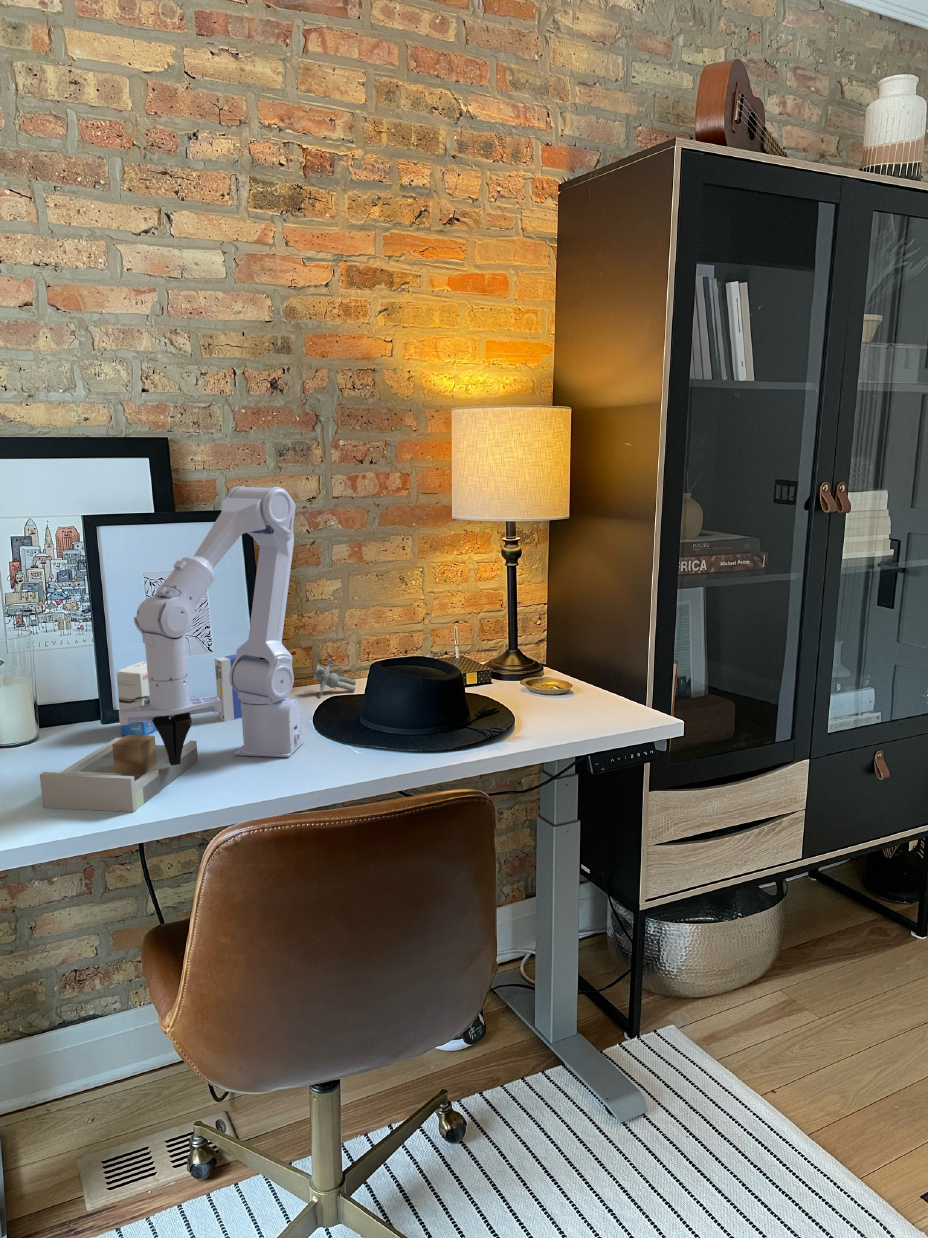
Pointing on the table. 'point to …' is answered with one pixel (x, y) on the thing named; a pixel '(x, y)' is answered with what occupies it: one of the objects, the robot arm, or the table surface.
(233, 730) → the table surface
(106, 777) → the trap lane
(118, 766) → the walnut block
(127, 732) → the ink box
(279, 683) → the robot arm
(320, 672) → the grey toy figure
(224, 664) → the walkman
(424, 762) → the table surface
